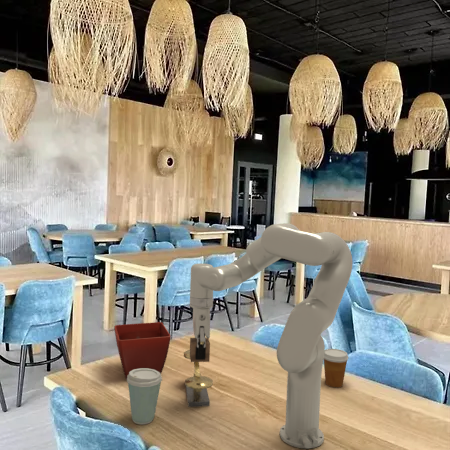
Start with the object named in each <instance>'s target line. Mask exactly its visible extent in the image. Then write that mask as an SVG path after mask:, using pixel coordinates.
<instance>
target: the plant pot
mask: <svg viewBox="0 0 450 450" xmlns="http://www.w3.org/2000/svg"><path fill="white" fill-rule="evenodd" d="M114 335H115V341H116V346H117V350H118V354H119V355H118V356H119V359H120V363H121V367H122V368H121V369H122V370H123V372H122V373H123V375H124V378H125V379H124V380H126V381H127V375H129V372H130V371H132V370H134V369H139V368H149V369H154V370H156V371H158V372H160V374H161V375H162V373H163V369H164V368H165V364H166V361H167V357H168V352H169V348H170V345H171V344H170V342H171V334H170V333H169V331H168V329H167V328H166V326H165V325H164V323H163V322H161V321H160V322H159V321H158V322H157V321H155V322H154V321H153V322H140V323H129V324H115V325H114Z"/></svg>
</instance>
